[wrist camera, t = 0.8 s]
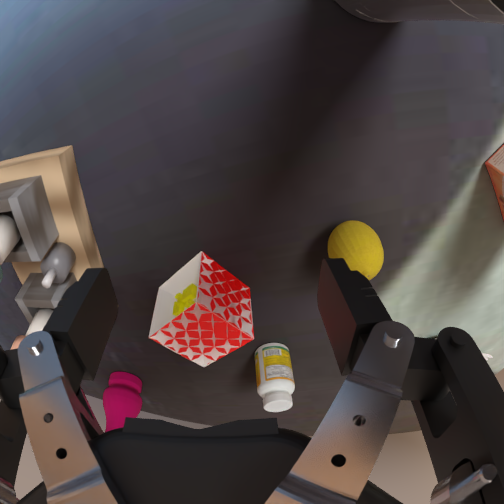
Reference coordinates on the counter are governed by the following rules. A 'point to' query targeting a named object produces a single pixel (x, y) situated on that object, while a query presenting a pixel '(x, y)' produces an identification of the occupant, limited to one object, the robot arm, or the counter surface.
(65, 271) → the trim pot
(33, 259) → the mount
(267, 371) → the supplement bottle
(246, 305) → the red patterned cube box
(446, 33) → the counter surface
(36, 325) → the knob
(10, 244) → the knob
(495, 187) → the cracker box
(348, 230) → the lemon
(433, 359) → the robot arm
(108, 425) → the pepper mill
